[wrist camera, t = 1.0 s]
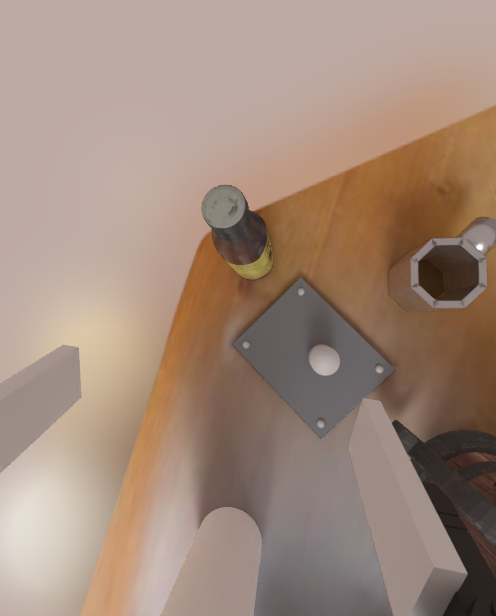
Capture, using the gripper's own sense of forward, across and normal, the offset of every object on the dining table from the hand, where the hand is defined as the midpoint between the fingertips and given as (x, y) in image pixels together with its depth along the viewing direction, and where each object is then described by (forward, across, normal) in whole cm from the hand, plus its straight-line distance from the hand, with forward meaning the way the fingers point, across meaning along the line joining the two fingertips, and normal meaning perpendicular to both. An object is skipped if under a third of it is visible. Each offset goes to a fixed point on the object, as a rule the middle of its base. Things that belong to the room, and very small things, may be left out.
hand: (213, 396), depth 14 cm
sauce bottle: (+34, +1, -1) cm, 34 cm away
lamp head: (+32, -23, -3) cm, 40 cm away
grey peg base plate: (+28, -9, +11) cm, 32 cm away
